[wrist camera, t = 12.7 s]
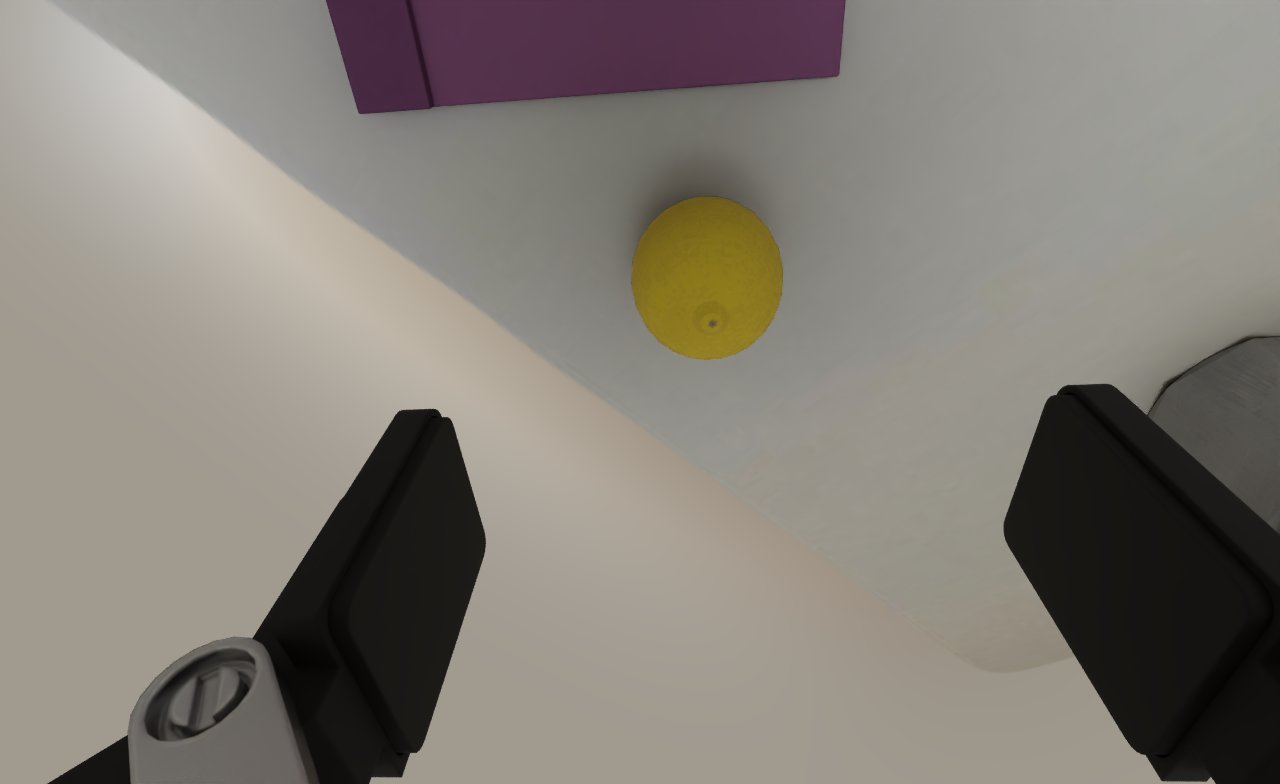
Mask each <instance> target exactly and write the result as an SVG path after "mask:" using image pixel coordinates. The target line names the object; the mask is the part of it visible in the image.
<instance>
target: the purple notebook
mask: <svg viewBox="0 0 1280 784" xmlns="http://www.w3.org/2000/svg"><path fill="white" fill-rule="evenodd" d="M326 2H327V5H328V9H329V12H330V16H331V19H332V23H333V26H334V30H335V33H336V37H337V40H338V43H339V47H340V50H341V54H342V57H343V61H344V64H345V68H346V71H347V75H348V78H349V82H350V85H351V88H352V92H353V95H354V99H355V102H356V106H357V109H358V113H359V114H367V113H380V112H393V111H406V110H420V109H430V108H432V107H438V106H451V105H465V104H478V103H491V102H504V101H517V100H531V99H544V98H557V97H570V96H583V95H597V94H610V93H623V92H636V91H649V90H663V89H676V88H689V87H702V86H715V85H729V84H742V83H755V82H768V81H781V80H794V79H808V78H821V77H834V76H838V75H839V69H840V58H841V46H842V34H843V23H844V11H845V0H326Z"/></svg>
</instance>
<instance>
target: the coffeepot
mask: <svg viewBox="0 0 1280 784" xmlns="http://www.w3.org/2000/svg"><path fill="white" fill-rule="evenodd" d="M1148 417H1149V418H1150V419H1151V420H1153V421H1154V422H1155V423H1156V424H1157V425H1158V426H1159V427H1160V428H1162V429H1163V430H1164V431H1165V432H1166V433H1167V434H1168V435H1169V436H1170V437H1172V438H1173V439H1174V440H1175V441H1176V442H1177V443H1178V444H1179V445H1180V446H1182V447H1183V448H1184V449H1185V450H1186V451H1187V452H1188V453H1189V454H1191V455H1192V456H1193V457H1194V458H1195V459H1196V460H1197V461H1198V462H1199V463H1201V464H1202V465H1203V466H1204V467H1205V468H1206V469H1207V470H1208V471H1209V472H1211V473H1212V474H1213V475H1214V476H1215V477H1216V478H1217V479H1218V480H1220V481H1221V482H1222V483H1223V484H1224V485H1225V486H1226V487H1227V488H1228V489H1230V490H1231V491H1232V492H1233V493H1234V494H1235V495H1236V496H1237V497H1238V498H1240V499H1241V500H1242V501H1243V502H1244V503H1245V504H1246V505H1247V506H1249V507H1250V508H1251V509H1252V510H1253V511H1254V512H1255V513H1256V514H1257V515H1259V516H1260V517H1261V518H1262V519H1263V520H1264V521H1265V522H1266V523H1267V524H1269V525H1270V526H1271V527H1272V528H1273V529H1274V530H1275V531H1276V532H1277V533H1279V534H1280V336H1278V337H1268V338H1253V339H1251V340H1248V341H1246V342H1243V343H1241V344H1238V345H1236V346H1233V347H1231V348H1228V349H1226V350H1224V351H1222V352H1220V353H1218V354H1216V355H1214V356H1212V357H1210V358H1208V359H1206V360H1204V361H1202V362H1201V363H1199V364H1198V365H1196V366H1195V367H1193V368H1192V369H1190V370H1189V371H1187V372H1186V373H1185V374H1183V375H1182V376H1181V377H1180V378H1179V379H1178V380H1176V381H1175V382H1174V383H1173V384H1172V385H1170V386H1169V387H1168V388H1167V389H1166V390H1165V392H1164V393H1163V394H1162V395H1161V396H1160V398H1159V399H1158V400H1157V402H1156V403H1155V405H1154V406H1153V408H1152V409H1151V411H1150V413H1149V414H1148Z"/></svg>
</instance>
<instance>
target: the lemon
mask: <svg viewBox="0 0 1280 784" xmlns="http://www.w3.org/2000/svg"><path fill="white" fill-rule="evenodd" d="M782 282H783V267H782V262H781V258H780V253H779V249H778V246H777V244H776V242H775V240H774V238H773V236H772V235H771V233H770V231H769V229H768V227H767V226H766V225H765V224H764V223H763V222H762V221H761V220H760V219H759V218H758V217H757V216H756V215H755V214H754V212H752V211H750V210H749V209H747V208H745V207H744V206H742V205H740V204H739V203H737V202H735V201H731V200H728V199H724V198H721V197H696V198H692V199H688V200H683V201H681V202H679V203H677V204H675V205H673V206H671V207H669V208H667V209H666V210H664V211H663V212H662V213H661V214H660V215H659V216H658V217H657V218H656V219H654V220H653V221H652V222H651V224H650V225H649V227H648V228H647V230H646V231H645V233H644V234H643V236H642V237H641V239H640V241H639V244H638V246H637V249H636V252H635V255H634V258H633V263H632V280H631V284H632V290H633V294H634V299H635V304H636V307H637V309H638V311H639V313H640V315H641V317H642V319H643V321H644V323H645V325H646V327H647V328H648V330H649V331H650V332H651V333H652V334H653V335H654V336H655V338H656V339H657V340H658V341H659V342H660V343H662V344H663V345H665V346H666V347H668V348H669V349H671V350H672V351H674V352H676V353H678V354H681V355H684V356H686V357H689V358H696V359H703V360H708V359H719V358H724V357H727V356H730V355H733V354H736V353H738V352H740V351H742V350H743V349H745V348H747V347H749V346H750V345H752V344H753V343H754V342H755V341H756V340H757V339H758V338H759V337H760V336H761V335H762V334H763V333H764V332H765V330H766V329H767V327H768V326H769V324H770V323H771V321H772V320H773V318H774V316H775V313H776V310H777V307H778V305H779V302H780V299H781V295H782Z"/></svg>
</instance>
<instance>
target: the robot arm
mask: <svg viewBox="0 0 1280 784" xmlns="http://www.w3.org/2000/svg"><path fill="white" fill-rule="evenodd" d="M1004 536H1005V540H1006V542H1007V544H1008V546H1009V548H1010V550H1011V551H1012V553H1013V555H1014V556H1015V558H1016V559H1017V561H1018V563H1019V564H1020V566H1021V568H1022V569H1023V571H1024V573H1025V574H1026V576H1027V578H1028V579H1029V581H1030V583H1031V584H1032V586H1033V587H1034V589H1035V591H1036V592H1037V594H1038V596H1039V597H1040V599H1041V601H1042V602H1043V604H1044V606H1045V607H1046V609H1047V610H1048V612H1049V614H1050V615H1051V617H1052V619H1053V620H1054V622H1055V624H1056V625H1057V627H1058V629H1059V630H1060V632H1061V633H1062V635H1063V637H1064V638H1065V640H1066V642H1067V643H1068V645H1069V647H1070V648H1071V650H1072V652H1073V653H1074V655H1075V657H1076V658H1077V660H1078V661H1079V663H1080V664H1081V666H1082V668H1083V669H1084V671H1085V673H1086V675H1087V676H1088V678H1089V679H1090V681H1091V683H1092V684H1093V686H1094V688H1095V689H1096V691H1097V693H1098V694H1099V696H1100V698H1101V699H1102V701H1103V703H1104V704H1105V706H1106V707H1107V709H1108V711H1109V712H1110V714H1111V716H1112V717H1113V719H1114V721H1115V722H1116V724H1117V725H1118V727H1119V729H1120V730H1121V732H1122V734H1123V735H1124V737H1125V739H1126V740H1127V741H1128V743H1129V744H1130V746H1131V747H1132V748H1133V749H1134V750H1135V751H1136V752H1138V753H1140V754H1143V755H1146V756H1147V758H1148V760H1149V761H1150V763H1151V764H1152V766H1153V768H1154V769H1155V771H1156V772H1157V774H1158V776H1159V777H1160V779H1161V780H1162V781H1203V782H1204V781H1205V782H1206V781H1208V779H1209V778H1210V777H1212V779H1213V780H1214V781H1215V783H1216V784H1280V534H1279V533H1277V532H1276V531H1275V530H1274V529H1273V528H1272V527H1271V526H1270V525H1269V524H1267V523H1266V522H1265V521H1264V520H1263V519H1262V518H1261V517H1260V516H1259V515H1257V514H1256V513H1255V512H1254V511H1253V510H1252V509H1251V508H1250V507H1249V506H1247V505H1246V504H1245V503H1244V502H1243V501H1242V500H1241V499H1240V498H1238V497H1237V496H1236V495H1235V494H1234V493H1233V492H1232V491H1231V490H1230V489H1228V488H1227V487H1226V486H1225V485H1224V484H1223V483H1222V482H1221V481H1220V480H1218V479H1217V478H1216V477H1215V476H1214V475H1213V474H1212V473H1211V472H1209V471H1208V470H1207V469H1206V468H1205V467H1204V466H1203V465H1202V464H1201V463H1199V462H1198V461H1197V460H1196V459H1195V458H1194V457H1193V456H1192V455H1191V454H1189V453H1188V452H1187V451H1186V450H1185V449H1184V448H1183V447H1182V446H1180V445H1179V444H1178V443H1177V442H1176V441H1175V440H1174V439H1173V438H1172V437H1170V436H1169V435H1168V434H1167V433H1166V432H1165V431H1164V430H1163V429H1162V428H1160V427H1159V426H1158V425H1157V424H1156V423H1155V422H1154V421H1153V420H1151V419H1150V418H1149V417H1148V416H1147V415H1146V414H1145V413H1144V412H1143V411H1141V410H1140V409H1139V408H1138V407H1137V406H1136V405H1135V404H1134V403H1133V402H1131V401H1130V400H1129V399H1128V398H1127V397H1126V396H1125V395H1124V394H1122V393H1121V392H1120V391H1119V390H1118V389H1117V388H1115V387H1114V386H1112V385H1109V384H1088V385H1067V386H1065V387H1062V388H1061V389H1060V390H1059V391H1058V393H1057V395H1053V396H1051V397H1050V398H1049V399H1048V400H1047V401H1046V403H1045V406H1044V409H1043V412H1042V414H1041V417H1040V420H1039V423H1038V426H1037V429H1036V432H1035V435H1034V437H1033V440H1032V443H1031V446H1030V449H1029V452H1028V455H1027V457H1026V460H1025V463H1024V466H1023V469H1022V472H1021V475H1020V477H1019V480H1018V483H1017V486H1016V489H1015V492H1014V495H1013V497H1012V500H1011V503H1010V506H1009V509H1008V512H1007V515H1006V518H1005V521H1004ZM485 547H486V539H485V532H484V529H483V525H482V522H481V518H480V515H479V511H478V508H477V505H476V501H475V498H474V494H473V491H472V487H471V484H470V481H469V477H468V474H467V471H466V467H465V464H464V460H463V457H462V453H461V450H460V446H459V443H458V440H457V436H456V433H455V429H454V426H453V423H452V421H451V419H450V418H448V417H442V416H441V414H440V413H439V411H438V410H436V409H417V410H401V411H399V412H398V413H397V414H396V415H395V417H394V419H393V420H392V422H391V423H390V425H389V426H388V428H387V430H386V431H385V433H384V434H383V436H382V438H381V439H380V441H379V442H378V444H377V446H376V447H375V449H374V450H373V452H372V453H371V455H370V456H369V458H368V460H367V461H366V463H365V464H364V466H363V468H362V469H361V471H360V472H359V474H358V476H357V477H356V479H355V480H354V482H353V483H352V485H351V487H350V488H349V490H348V491H347V493H346V494H345V496H344V497H343V498H342V499H341V500H340V502H339V503H338V505H337V506H336V508H335V509H334V511H333V512H332V514H331V516H330V517H329V519H328V521H327V522H326V523H325V525H324V527H323V528H322V530H321V531H320V533H319V535H318V536H317V538H316V539H315V541H314V542H313V544H312V546H311V547H310V549H309V550H308V552H307V553H306V555H305V557H304V558H303V560H302V561H301V563H300V564H299V566H298V568H297V569H296V571H295V572H294V574H293V576H292V577H291V579H290V580H289V582H288V583H287V585H286V587H285V588H284V590H283V591H282V593H281V594H280V596H279V598H278V599H277V601H276V602H275V604H274V605H273V607H272V608H271V610H270V612H269V613H268V615H267V616H266V618H265V619H264V621H263V623H262V624H261V626H260V627H259V629H258V631H257V632H256V634H255V635H254V637H253V638H244V637H231V638H226V639H221V640H216V641H213V642H211V643H208V644H206V645H203V646H201V647H198V648H196V649H194V650H192V651H191V652H189V653H187V654H186V655H185V656H183V657H181V658H179V659H178V660H176V661H175V662H173V663H172V664H171V665H170V666H169V667H167V668H166V669H165V670H164V671H163V672H162V673H160V674H159V675H158V676H157V677H156V678H155V679H154V680H153V681H152V683H151V684H150V685H149V686H148V687H147V688H146V690H145V691H144V692H143V693H142V695H141V696H140V697H139V699H138V701H137V703H136V705H135V707H134V709H133V711H132V713H131V715H130V721H129V728H128V735H127V736H125V737H124V738H122V739H120V740H119V741H117V742H116V743H114V744H112V745H110V746H109V747H107V748H105V749H104V750H102V751H100V752H99V753H97V754H96V755H94V756H92V757H91V758H89V759H87V760H86V761H84V762H82V763H81V764H79V765H77V766H76V767H74V768H72V769H71V770H69V771H68V772H66V773H64V774H63V775H61V776H59V777H58V778H56V779H54V780H53V781H51V782H49V783H48V784H369V782H370V779H371V777H402V775H403V772H404V769H405V766H406V763H407V760H408V757H409V755H410V753H417V752H418V751H419V750H420V749H421V747H422V745H423V743H424V740H425V738H426V735H427V731H428V728H429V725H430V722H431V719H432V716H433V713H434V710H435V707H436V703H437V700H438V697H439V694H440V691H441V688H442V685H443V682H444V679H445V676H446V672H447V669H448V666H449V663H450V660H451V657H452V654H453V651H454V648H455V644H456V641H457V638H458V635H459V632H460V629H461V625H462V622H463V619H464V616H465V613H466V610H467V607H468V604H469V601H470V598H471V595H472V592H473V589H474V585H475V582H476V579H477V576H478V573H479V570H480V567H481V563H482V561H483V557H484V553H485Z"/></svg>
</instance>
